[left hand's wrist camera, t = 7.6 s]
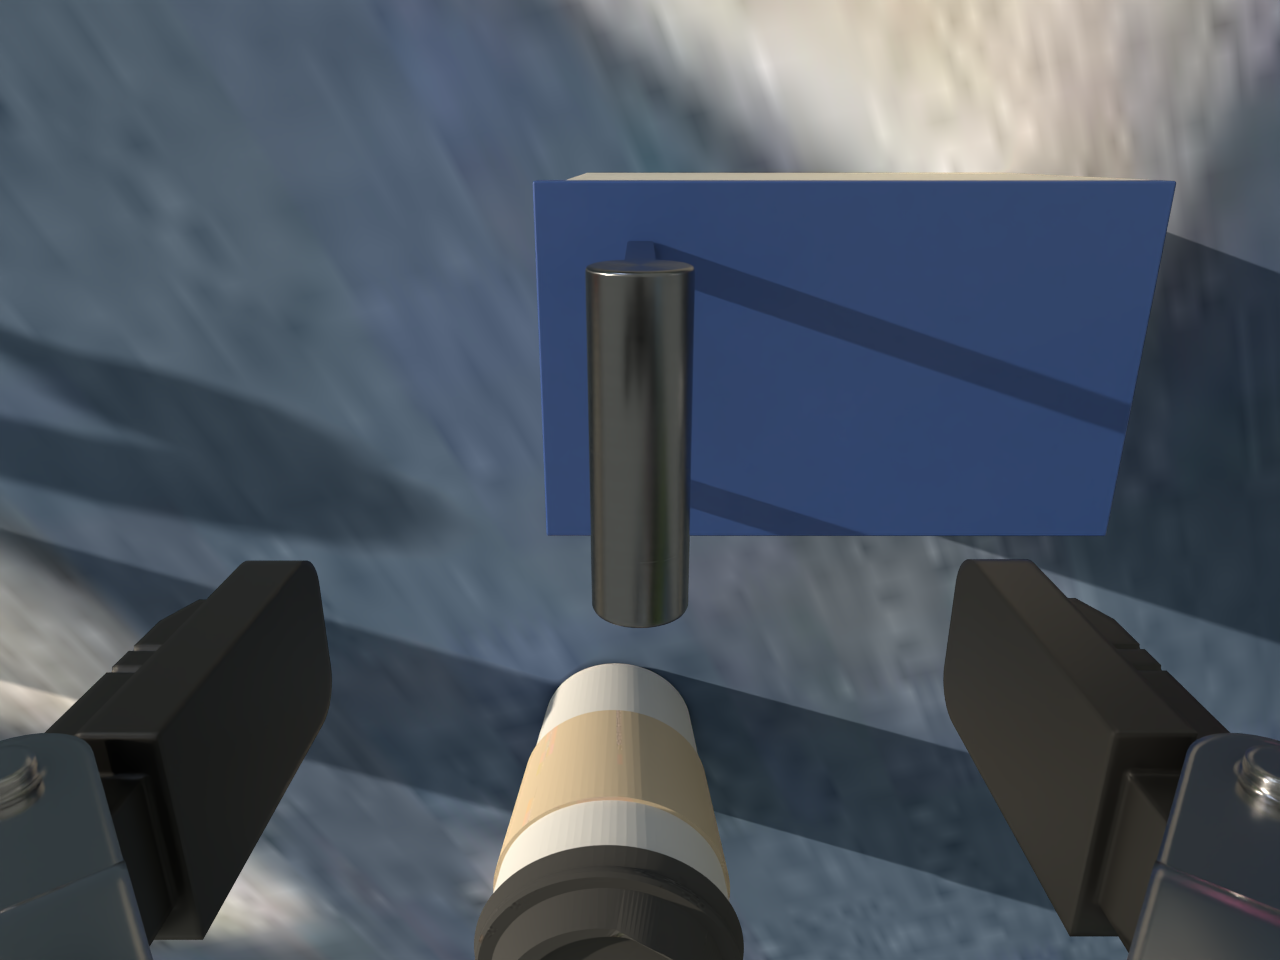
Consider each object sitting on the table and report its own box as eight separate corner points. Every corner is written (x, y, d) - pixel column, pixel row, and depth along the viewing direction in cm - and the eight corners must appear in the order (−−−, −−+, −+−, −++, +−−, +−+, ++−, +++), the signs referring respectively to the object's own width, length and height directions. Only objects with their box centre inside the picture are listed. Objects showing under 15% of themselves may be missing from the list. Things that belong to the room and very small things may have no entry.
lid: (550, 523, 27) (510, 684, 19) (536, 179, 24) (480, 193, 15) (1090, 524, 27) (1287, 685, 19) (1156, 180, 24) (1434, 193, 15)
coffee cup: (633, 834, 44) (630, 1158, 29) (483, 738, 42) (402, 1037, 28) (753, 712, 41) (813, 1003, 27) (600, 605, 39) (577, 858, 25)
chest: (590, 428, 36) (572, 522, 27) (585, 172, 33) (562, 179, 24) (973, 428, 36) (1089, 522, 27) (1008, 172, 33) (1155, 180, 24)
